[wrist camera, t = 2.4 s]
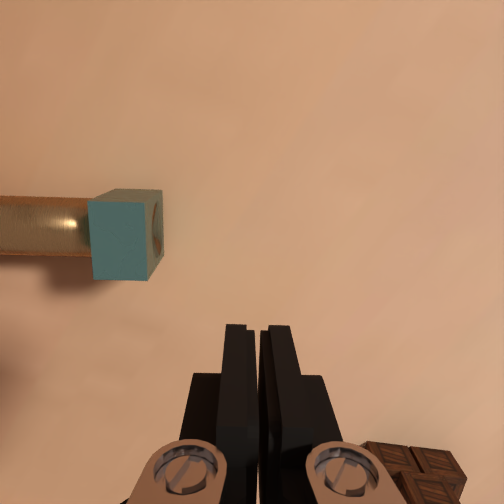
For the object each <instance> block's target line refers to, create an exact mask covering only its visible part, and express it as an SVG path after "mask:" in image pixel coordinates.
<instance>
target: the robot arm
mask: <svg viewBox="0 0 504 504" xmlns="http://www.w3.org/2000/svg"><path fill="white" fill-rule="evenodd" d="M257 473H258V474H259V498H260V504H407V503H406V501H405V500H404V498H403V496H402V495H401V493H400V491H399V490H398V488H397V487H396V485H395V483H394V482H393V480H392V478H391V477H390V475H389V474H388V472H387V470H386V469H385V467H384V466H383V464H382V463H381V462H380V461H379V460H378V458H377V457H376V456H374V455H373V454H372V453H370V452H369V451H368V450H366V449H364V448H362V447H360V446H358V445H355V444H351V443H347V442H343V439H342V436H341V433H340V430H339V427H338V424H337V421H336V417H335V414H334V411H333V408H332V405H331V402H330V399H329V396H328V393H327V390H326V387H325V384H324V381H323V378H322V376H320V375H301V372H300V367H299V363H298V359H297V355H296V351H295V347H294V342H293V338H292V334H291V330H290V326H285V325H269V327H268V331H266V330H261V333H260V354H259V378H258V389H257V370H256V351H255V332H254V330H247V329H246V325H241V324H226V331H225V341H224V351H223V362H222V372H221V373H194V374H193V377H192V381H191V386H190V391H189V395H188V400H187V405H186V409H185V414H184V418H183V423H182V428H181V432H180V437H179V441H174V442H171V443H169V444H167V445H165V446H163V447H161V448H160V449H159V450H157V451H156V452H155V453H154V454H153V455H152V456H151V458H150V459H149V460H148V462H147V463H146V465H145V467H144V469H143V471H142V473H141V475H140V477H139V479H138V481H137V483H136V485H135V487H134V489H133V491H132V493H131V495H130V497H129V498H128V499H126V500H125V501H123V502H122V503H120V504H256V495H257Z"/></svg>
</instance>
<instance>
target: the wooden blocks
mask: <svg viewBox="0 0 504 504" xmlns="http://www.w3.org/2000/svg"><path fill="white" fill-rule="evenodd" d="M365 449H366V450H368V451H369V452H370V453H372V454H373V455H374V456H376V457H377V458H378V460H379V461H380V462H381V463H382V464H383V466H384V467H385V469H386V470H387V472H388V474H389V475H390V477H391V478H392V480H393V482H394V483H395V485H396V487H397V488H398V490H399V491H400V493H401V495H402V496H403V498H404V500H405V501H406V503H407V504H461V503H460V502H459V499H460V496H461V494H462V491H463V488H464V486H465V483H466V481H467V477H466V475H465V474H464V472H463V471H462V469H461V468H460V466H459V464H458V463H457V461H456V460H455V458H454V457H453V455H452V454H451V452H450V451H445V450H437V449H429V448H421V447H413V446H411V447H410V450H409V449H408V447H407V446H403V445H395V444H387V443H379V442H371V441H367V444H366V447H365Z"/></svg>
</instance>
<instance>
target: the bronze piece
mask: <svg viewBox="0 0 504 504" xmlns="http://www.w3.org/2000/svg"><path fill="white" fill-rule="evenodd" d="M0 255H39V256H78V257H92V268H93V280H135V281H148V279H149V278H150V276H151V275H152V273H153V272H154V270H155V269H156V267H157V265H158V264H159V262H160V261H161V259H162V258H163V256H164V233H163V196H162V190H144V189H114V190H111V191H109V192H107V193H104V194H102V195H100V196H98V197H95V198H65V197H31V196H0Z"/></svg>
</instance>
